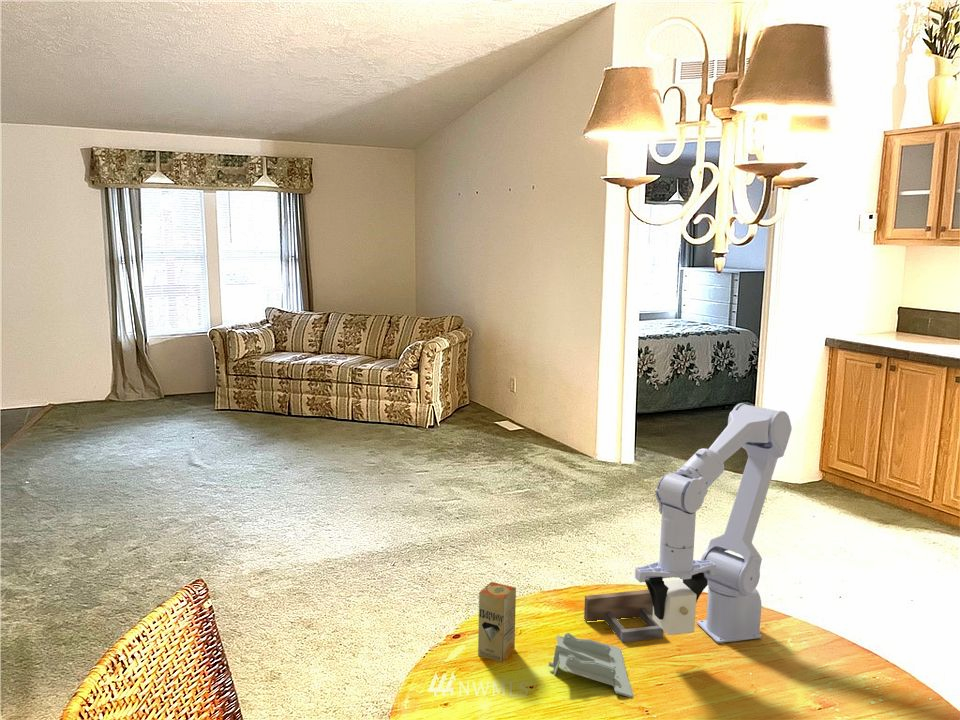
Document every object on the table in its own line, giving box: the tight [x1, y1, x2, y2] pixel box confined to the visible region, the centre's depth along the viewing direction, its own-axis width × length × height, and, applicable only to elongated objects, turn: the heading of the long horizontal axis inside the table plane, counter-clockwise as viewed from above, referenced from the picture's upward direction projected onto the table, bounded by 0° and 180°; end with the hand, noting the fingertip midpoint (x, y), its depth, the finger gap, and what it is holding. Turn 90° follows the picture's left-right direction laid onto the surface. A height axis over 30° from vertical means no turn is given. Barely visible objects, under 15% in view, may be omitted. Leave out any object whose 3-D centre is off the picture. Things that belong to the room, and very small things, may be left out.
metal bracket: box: [548, 632, 634, 699], centre depth 134 cm, size 14×6×15 cm
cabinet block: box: [652, 579, 697, 636], centre depth 136 cm, size 5×7×7 cm
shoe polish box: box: [477, 581, 517, 663], centre depth 139 cm, size 5×5×12 cm
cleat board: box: [583, 589, 665, 643], centre depth 149 cm, size 16×10×5 cm, turn 103°
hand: (673, 615), depth 137 cm, fingers closed on cabinet block, 5 cm apart
